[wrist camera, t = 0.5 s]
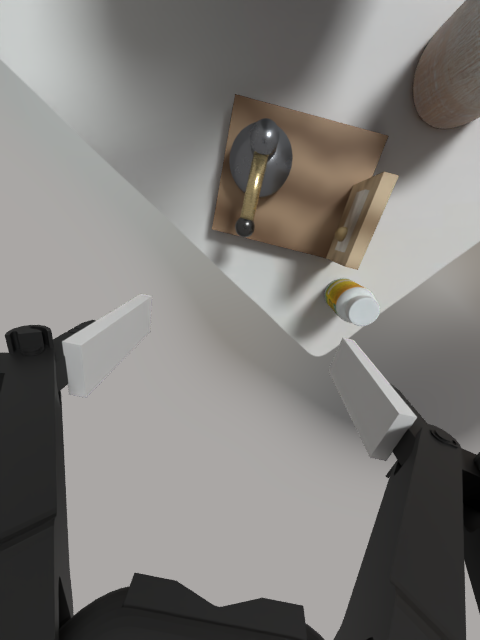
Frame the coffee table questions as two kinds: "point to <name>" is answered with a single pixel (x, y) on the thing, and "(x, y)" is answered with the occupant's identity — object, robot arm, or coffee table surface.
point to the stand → (312, 186)
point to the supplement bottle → (352, 302)
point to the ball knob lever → (259, 167)
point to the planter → (451, 71)
